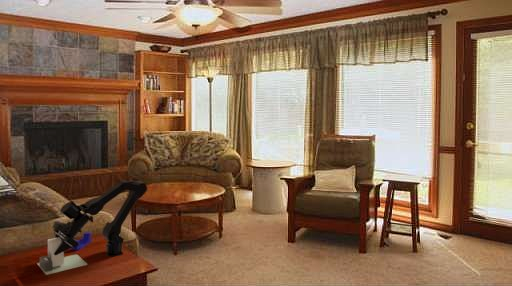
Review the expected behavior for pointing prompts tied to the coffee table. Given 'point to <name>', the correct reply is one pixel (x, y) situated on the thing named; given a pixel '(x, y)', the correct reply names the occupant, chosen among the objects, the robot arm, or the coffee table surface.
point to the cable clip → (83, 241)
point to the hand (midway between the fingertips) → (52, 252)
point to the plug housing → (52, 247)
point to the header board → (69, 263)
